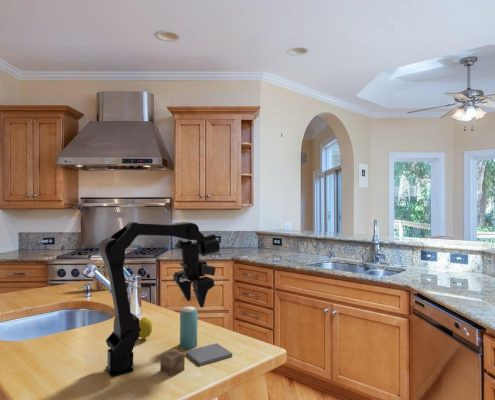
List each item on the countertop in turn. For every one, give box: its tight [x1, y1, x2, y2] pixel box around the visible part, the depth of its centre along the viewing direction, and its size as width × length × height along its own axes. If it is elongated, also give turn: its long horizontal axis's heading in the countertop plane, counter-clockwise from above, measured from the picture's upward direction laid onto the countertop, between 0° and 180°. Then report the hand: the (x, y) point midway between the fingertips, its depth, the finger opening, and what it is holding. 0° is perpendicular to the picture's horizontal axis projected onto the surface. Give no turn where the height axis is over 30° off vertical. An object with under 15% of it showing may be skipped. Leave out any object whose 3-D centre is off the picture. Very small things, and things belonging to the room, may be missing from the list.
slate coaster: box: [184, 342, 233, 366], centre depth 117 cm, size 12×10×1 cm
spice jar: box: [179, 305, 199, 350], centre depth 125 cm, size 6×6×13 cm
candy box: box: [93, 261, 110, 291], centre depth 202 cm, size 9×4×15 cm, turn 93°
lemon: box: [139, 316, 153, 340], centre depth 130 cm, size 6×6×8 cm
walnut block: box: [160, 348, 186, 377], centre depth 107 cm, size 5×5×5 cm
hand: (195, 303), depth 122 cm, fingers open, 9 cm apart
